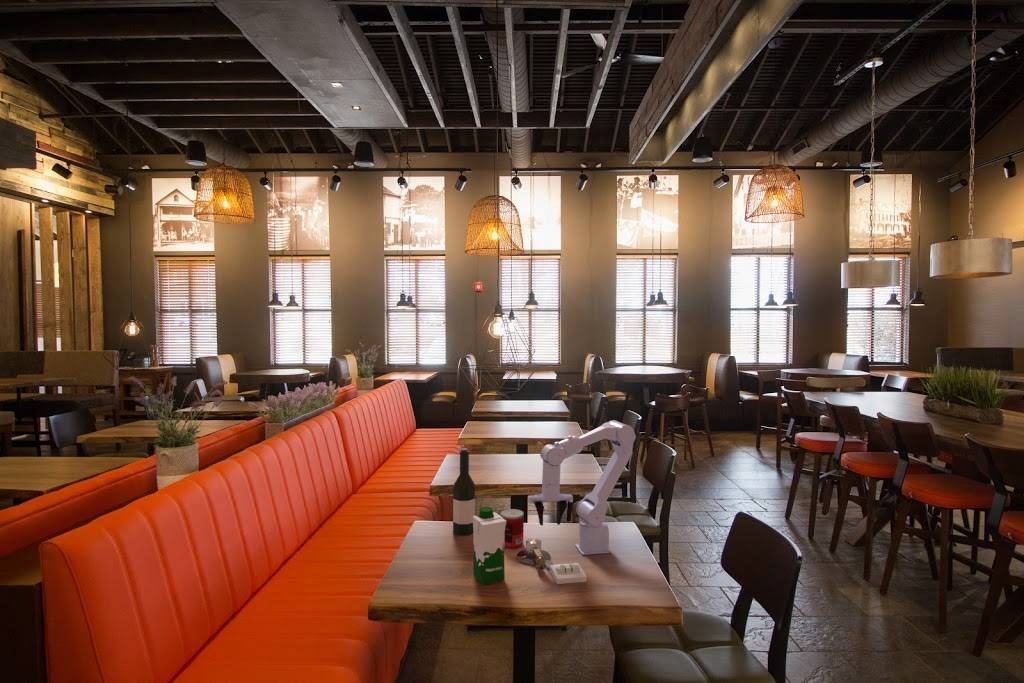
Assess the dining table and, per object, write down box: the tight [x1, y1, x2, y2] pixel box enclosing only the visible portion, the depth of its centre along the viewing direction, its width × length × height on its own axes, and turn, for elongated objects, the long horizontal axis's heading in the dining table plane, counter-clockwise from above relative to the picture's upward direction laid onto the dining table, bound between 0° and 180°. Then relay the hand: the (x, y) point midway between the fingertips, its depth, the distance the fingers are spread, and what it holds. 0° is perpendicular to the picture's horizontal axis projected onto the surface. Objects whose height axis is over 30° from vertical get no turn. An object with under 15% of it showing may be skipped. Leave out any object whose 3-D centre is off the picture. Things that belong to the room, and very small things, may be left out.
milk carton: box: [472, 506, 506, 586], centre depth 162 cm, size 9×9×20 cm
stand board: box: [548, 562, 588, 585], centre depth 164 cm, size 9×9×4 cm
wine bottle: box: [452, 447, 476, 537], centre depth 197 cm, size 8×8×30 cm
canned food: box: [500, 508, 525, 550], centre depth 186 cm, size 8×8×11 cm
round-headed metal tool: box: [525, 538, 546, 571], centre depth 172 cm, size 14×5×5 cm, turn 10°
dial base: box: [516, 548, 554, 571], centre depth 175 cm, size 11×14×1 cm
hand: (549, 523), depth 178 cm, fingers open, 5 cm apart
